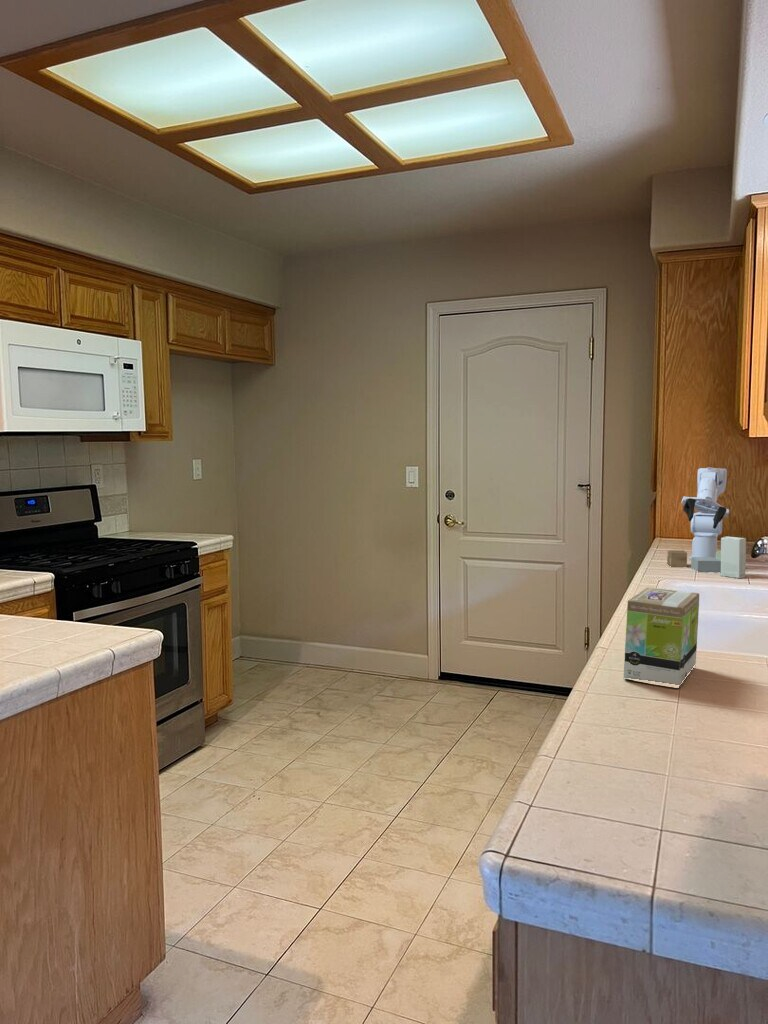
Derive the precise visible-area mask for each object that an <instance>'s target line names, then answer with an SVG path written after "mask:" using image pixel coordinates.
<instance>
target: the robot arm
mask: <svg viewBox="0 0 768 1024" xmlns="http://www.w3.org/2000/svg"><path fill="white" fill-rule="evenodd" d="M696 475H697V478H696V479H697V480H696V481H697V482H696V486H697V487H696V488H697V491H696V496H693V497H691V496H684V495H683V497H682V499H681V503H680V504H681V505H683V507H682V508H683V509H682V510H683V512H684V513H685V514H686V516H687V519H688V521H689V522H690V533H691V534H693V536H694V537H693V538H692V543H691V556H688V559H690V560H691V557H714V558H716V552H718V536H720V535H722V533H723V518H727V517H728V515H729V513H730V509H728V508H726V507H724V506H722V505H720V503H718V502H717V501H718V499H719V496H720V495H721V494H722V493H724V492H725V491H726V486H727V480H728V479H727V477H728V470H727V468H721V467H719V468H718V467H717V468H716V467H715V468H714V467H706V468H705V467H700V468H698V469H697V474H696ZM695 511H697V512H695Z"/></svg>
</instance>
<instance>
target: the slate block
mask: <svg viewBox="0 0 768 1024" xmlns="http://www.w3.org/2000/svg"><path fill="white" fill-rule="evenodd" d="M690 557H691V559H690V562H691V563H690V569H691V568H692V569H691V570H693V569H694V570H693V571H695V570H696V571H698V572H697V573H709V572H721V561H720V560H718V559H716V558H714V557H692V556H690ZM696 571H695V572H696Z"/></svg>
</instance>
